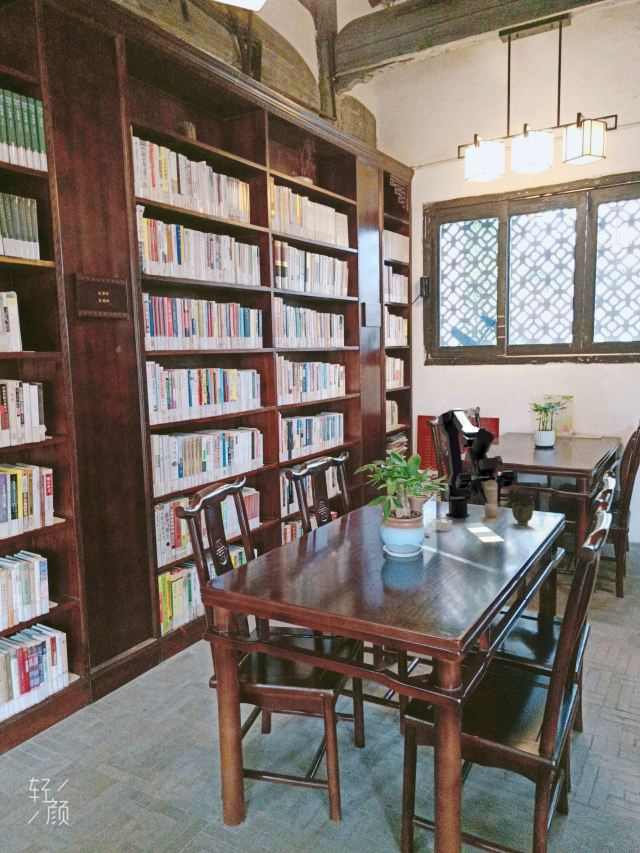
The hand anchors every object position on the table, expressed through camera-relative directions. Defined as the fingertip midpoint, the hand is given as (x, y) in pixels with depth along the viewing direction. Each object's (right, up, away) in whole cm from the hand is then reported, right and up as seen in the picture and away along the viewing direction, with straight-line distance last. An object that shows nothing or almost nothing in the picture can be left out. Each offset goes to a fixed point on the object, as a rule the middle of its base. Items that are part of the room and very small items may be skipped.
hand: (492, 502), depth 192 cm
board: (0, -12, +11) cm, 17 cm away
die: (-12, -12, +16) cm, 24 cm away
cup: (+16, -11, +20) cm, 28 cm away
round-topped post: (0, -6, +2) cm, 7 cm away
